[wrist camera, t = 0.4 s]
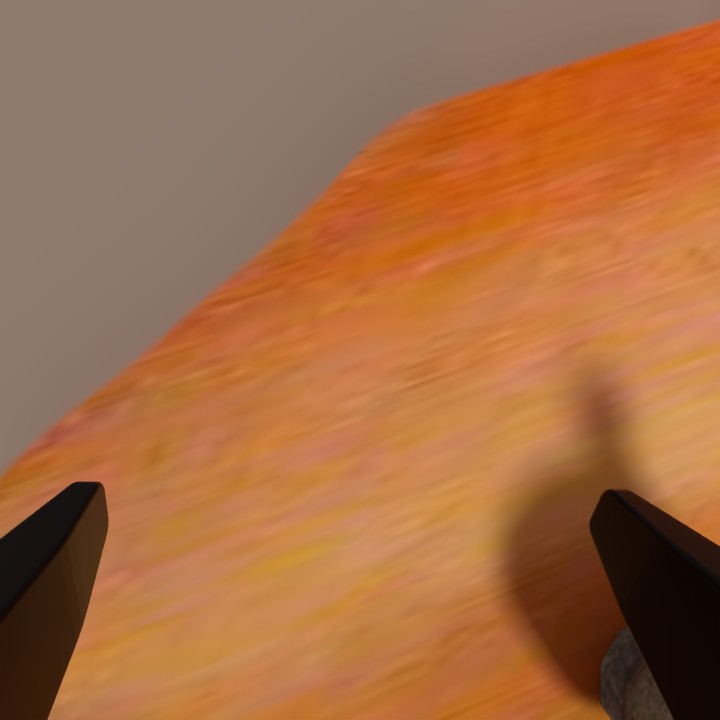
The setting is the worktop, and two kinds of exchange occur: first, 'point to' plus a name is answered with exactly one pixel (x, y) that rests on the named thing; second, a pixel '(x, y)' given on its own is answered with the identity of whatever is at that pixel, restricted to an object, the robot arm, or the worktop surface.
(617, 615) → the worktop surface
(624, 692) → the mortar and pestle
